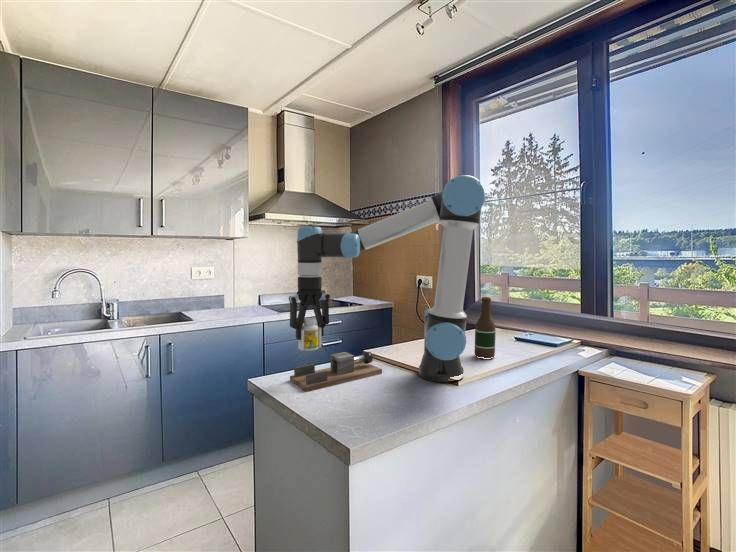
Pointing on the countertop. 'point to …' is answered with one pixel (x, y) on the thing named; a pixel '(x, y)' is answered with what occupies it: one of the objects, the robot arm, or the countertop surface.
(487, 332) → the beer bottle
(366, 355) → the shaft
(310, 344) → the supplement bottle
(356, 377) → the base
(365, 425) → the countertop surface
